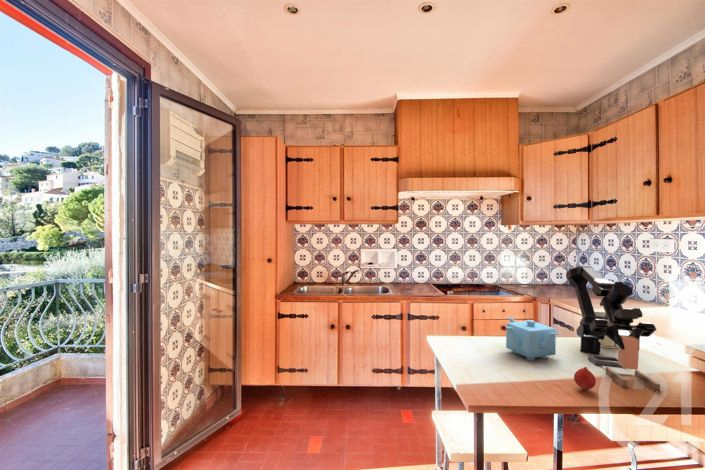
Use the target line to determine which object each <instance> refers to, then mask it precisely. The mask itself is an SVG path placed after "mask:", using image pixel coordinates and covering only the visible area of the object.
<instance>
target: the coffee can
mask: <svg viewBox="0 0 705 470" xmlns="http://www.w3.org/2000/svg"><path fill="white" fill-rule="evenodd" d="M594 312H595V315H596V316H597V317H601V318H602V319H605V320H607V321H608V322H609V320H608V319H606V318H605V315H606V313H605V311H604V312H601V311H594ZM599 342H601V345H600V348H607V349H617V348H619V346H618V345H617V344H616V343H615V342H614V341H612V340H611V339H610V338H609V337H607V336H606V335H605V337H604V340H602V339H599Z"/></svg>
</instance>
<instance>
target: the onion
mask: <svg viewBox="0 0 705 470" xmlns="http://www.w3.org/2000/svg"><path fill="white" fill-rule="evenodd" d="M573 381H574V382H575V384H576V385H577V386H578V387H579V388H580V389H581V390H583V391H584V392H586V391H589V390H591V389H593V388H594V387H595V386H596V383H597V379H596V377H595V375H594V374H593V372H591V371H590V370H589V369H588V367H587V366H583V367H581V368H580V369H577V370H576V372H574V374H573Z"/></svg>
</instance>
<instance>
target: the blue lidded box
mask: <svg viewBox="0 0 705 470" xmlns="http://www.w3.org/2000/svg"><path fill="white" fill-rule="evenodd" d="M507 319H508V320H509V322H507V323H506V326H505V329H506V337H505V339H506V340H505V341H506V342H505V343H506V344H505V348H506V349H509V350H511V351H512V354H515V355H521V356H523V357H526V360H528V361H531V362H535V358H540V359H545V360H548V359H549V358H548V356H554V355H556V346H557V345H556V343H557V341H556V340H557V335H559V333H558V332H557V329H556V328H555V327H553V326H552V327H551V326H549V325H546V324H543V323H540V322H536V321H535V320H533V319H526V320H524V321H516V320H515V319H514V318H512V317H510V316H507Z"/></svg>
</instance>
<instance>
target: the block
mask: <svg viewBox="0 0 705 470" xmlns="http://www.w3.org/2000/svg"><path fill="white" fill-rule="evenodd" d="M619 335H620V337H621V340H622V342H623V344H624V348H625V349H624V350H622V349H621V348H620V347H619V346H618V353H617V358H618V364H619V365H621V366H622V367H623V369H625V370H626V369H629V370H639V354H640V343H639V340H638V339H636V338H635V337H633V336H629V335H621V334H619Z"/></svg>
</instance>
